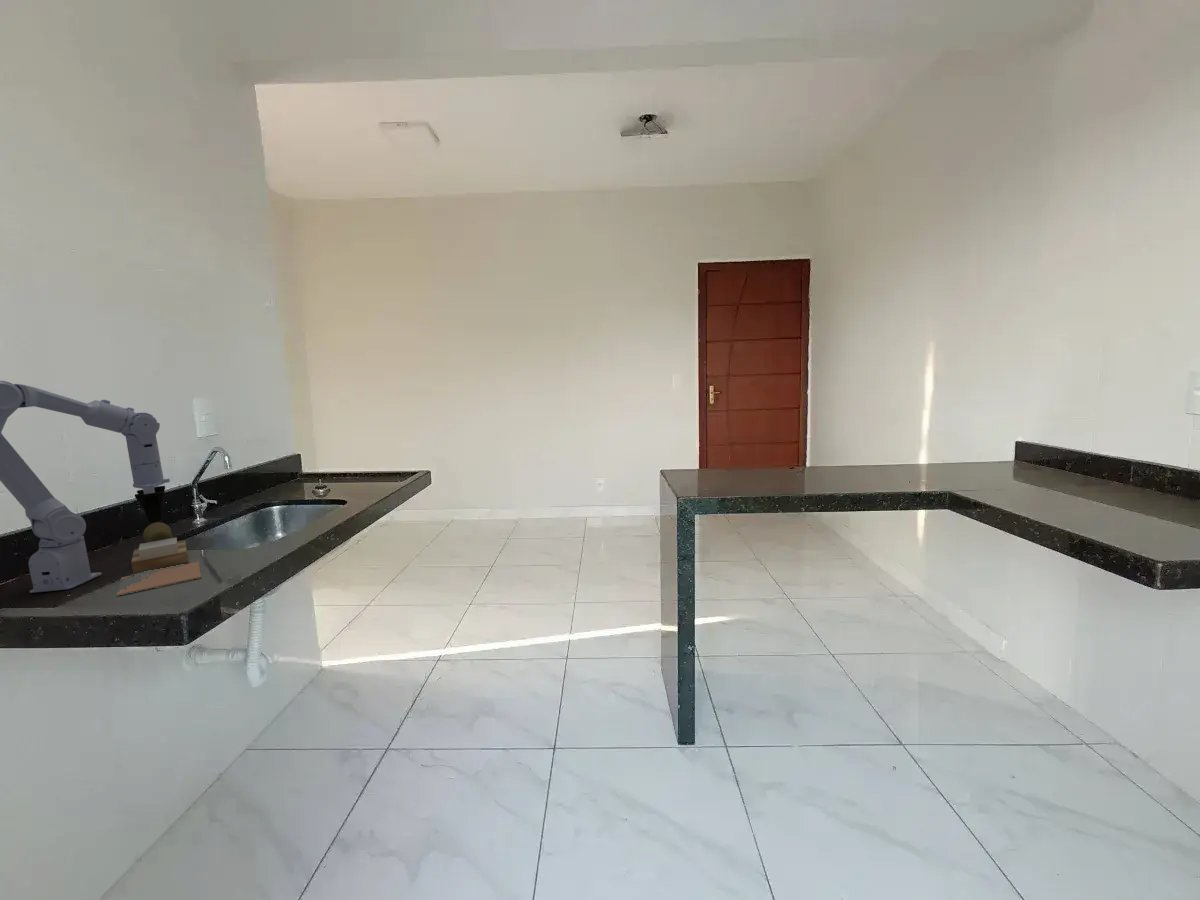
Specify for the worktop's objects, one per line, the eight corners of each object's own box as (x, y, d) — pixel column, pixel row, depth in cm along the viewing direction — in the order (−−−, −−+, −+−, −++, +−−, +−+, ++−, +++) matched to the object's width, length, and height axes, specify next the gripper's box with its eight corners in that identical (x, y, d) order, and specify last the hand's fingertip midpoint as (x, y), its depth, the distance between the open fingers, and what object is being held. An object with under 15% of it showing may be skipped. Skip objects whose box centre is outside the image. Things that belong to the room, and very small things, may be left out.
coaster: (141, 552, 139) (139, 543, 139) (177, 545, 143) (176, 537, 143) (140, 558, 133) (138, 550, 133) (178, 551, 137) (176, 543, 137)
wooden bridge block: (136, 561, 142) (134, 549, 142) (187, 551, 148) (185, 540, 148) (133, 575, 131) (131, 562, 131) (188, 564, 137) (186, 551, 136)
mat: (121, 579, 129) (121, 577, 129) (199, 563, 137) (198, 561, 137) (116, 596, 118) (116, 594, 118) (201, 578, 126) (201, 576, 126)
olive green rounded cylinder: (138, 529, 154) (141, 538, 145) (165, 518, 157) (170, 526, 149) (149, 549, 156) (153, 559, 147) (175, 538, 159) (181, 547, 151)
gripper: (166, 463, 138) (176, 521, 140) (166, 458, 150) (175, 511, 151) (127, 468, 134) (138, 527, 136) (131, 462, 146) (140, 517, 147)
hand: (155, 519), depth 143 cm, fingers open, 6 cm apart
